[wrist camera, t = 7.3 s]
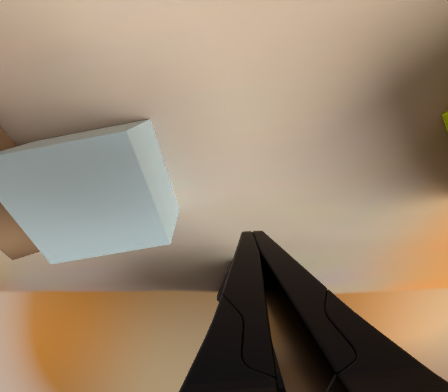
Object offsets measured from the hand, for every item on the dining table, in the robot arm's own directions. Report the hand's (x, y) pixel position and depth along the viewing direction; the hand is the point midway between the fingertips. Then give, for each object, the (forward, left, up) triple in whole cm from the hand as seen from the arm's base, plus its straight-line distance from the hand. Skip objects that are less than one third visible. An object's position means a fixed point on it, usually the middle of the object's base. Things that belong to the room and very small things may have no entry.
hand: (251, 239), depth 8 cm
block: (-4, +9, -10) cm, 14 cm away
